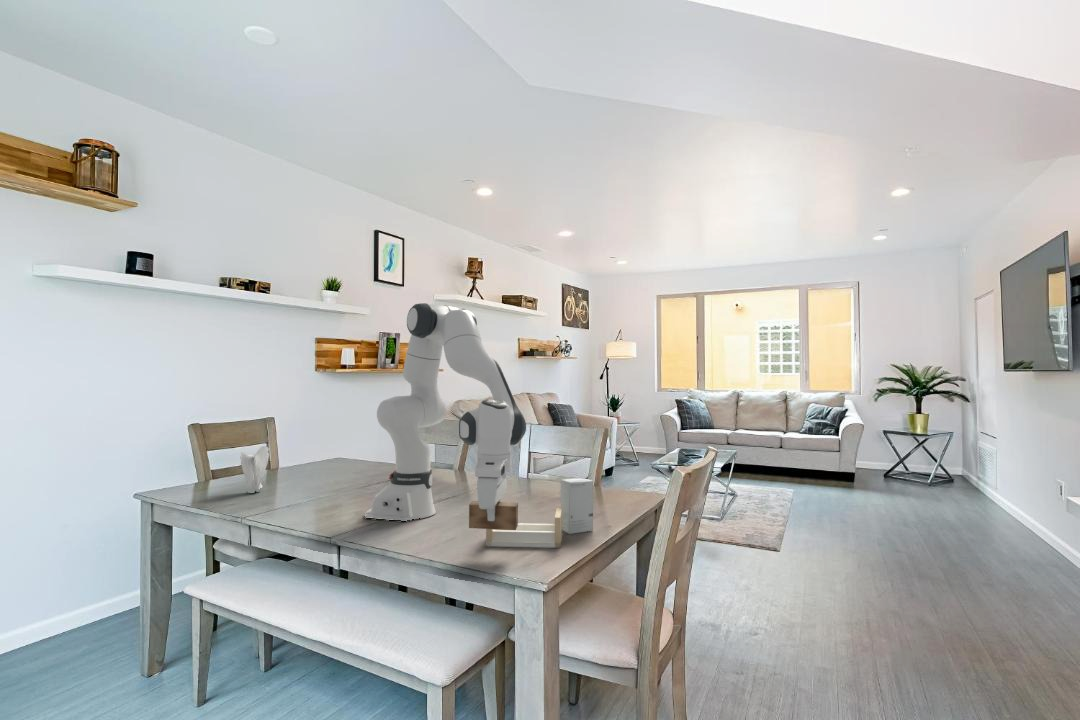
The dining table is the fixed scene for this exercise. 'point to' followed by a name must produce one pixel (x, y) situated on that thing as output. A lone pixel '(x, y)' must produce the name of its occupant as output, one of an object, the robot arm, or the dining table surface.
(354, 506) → the dining table surface
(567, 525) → the skincare box
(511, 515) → the brown wooden block
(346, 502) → the dining table surface
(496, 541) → the track
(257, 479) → the shell sculpture
